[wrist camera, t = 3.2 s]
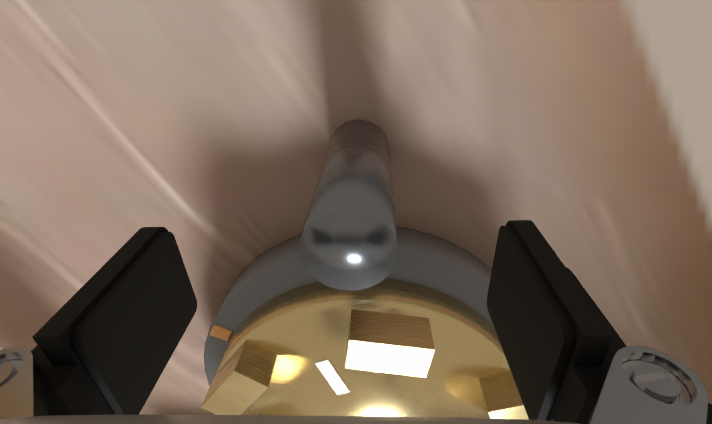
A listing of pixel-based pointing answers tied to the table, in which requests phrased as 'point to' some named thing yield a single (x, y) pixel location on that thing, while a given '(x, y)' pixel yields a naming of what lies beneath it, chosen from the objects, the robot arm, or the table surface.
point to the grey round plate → (286, 272)
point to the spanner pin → (352, 212)
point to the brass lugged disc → (365, 357)
